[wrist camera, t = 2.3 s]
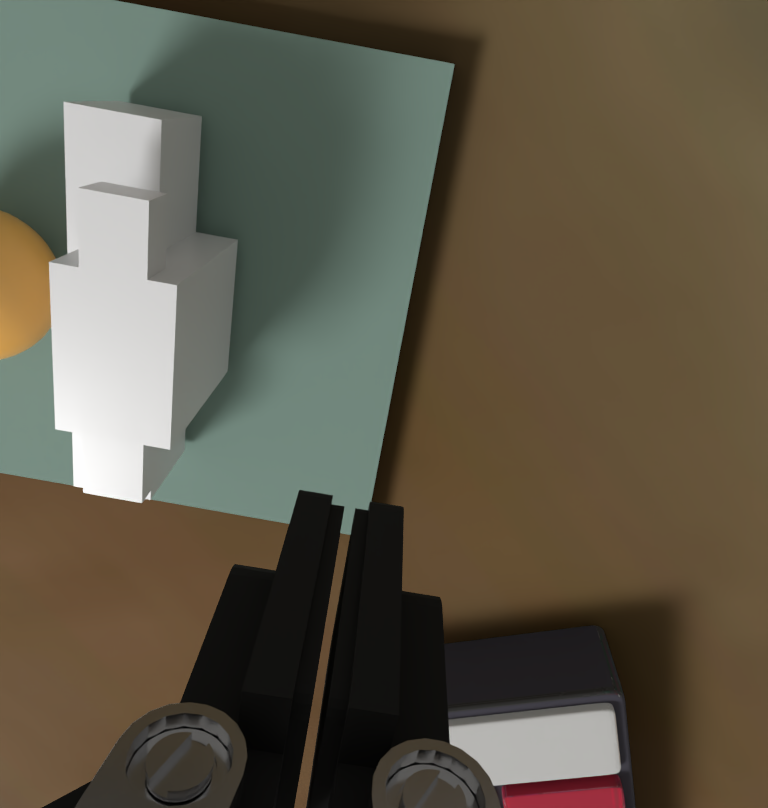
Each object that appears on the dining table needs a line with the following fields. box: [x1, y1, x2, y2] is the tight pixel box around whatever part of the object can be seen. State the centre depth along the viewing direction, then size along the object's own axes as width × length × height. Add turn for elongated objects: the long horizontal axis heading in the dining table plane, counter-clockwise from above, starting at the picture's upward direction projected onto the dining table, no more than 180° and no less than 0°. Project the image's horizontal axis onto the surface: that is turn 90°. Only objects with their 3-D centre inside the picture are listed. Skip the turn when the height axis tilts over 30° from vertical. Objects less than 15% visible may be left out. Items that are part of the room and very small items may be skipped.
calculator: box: [444, 626, 636, 808], centre depth 30 cm, size 11×4×15 cm
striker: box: [49, 101, 238, 503], centre depth 19 cm, size 4×11×6 cm, turn 171°
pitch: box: [0, 0, 455, 535], centre depth 22 cm, size 24×16×1 cm, turn 80°
